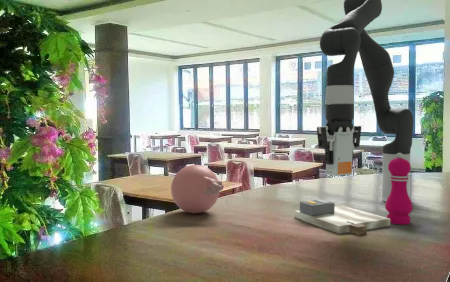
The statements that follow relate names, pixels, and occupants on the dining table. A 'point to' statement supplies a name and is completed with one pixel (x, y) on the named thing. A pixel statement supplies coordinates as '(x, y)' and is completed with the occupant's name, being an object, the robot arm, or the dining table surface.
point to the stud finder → (317, 207)
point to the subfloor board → (345, 220)
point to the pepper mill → (399, 191)
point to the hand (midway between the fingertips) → (339, 163)
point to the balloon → (195, 189)
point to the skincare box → (341, 154)
